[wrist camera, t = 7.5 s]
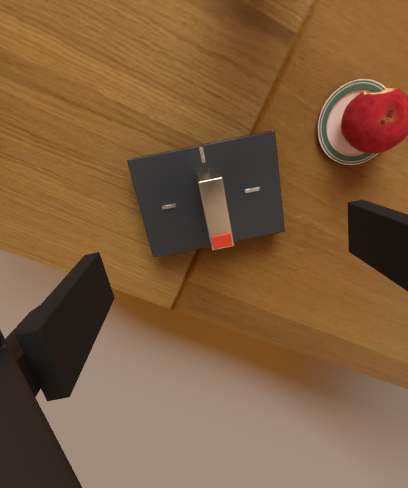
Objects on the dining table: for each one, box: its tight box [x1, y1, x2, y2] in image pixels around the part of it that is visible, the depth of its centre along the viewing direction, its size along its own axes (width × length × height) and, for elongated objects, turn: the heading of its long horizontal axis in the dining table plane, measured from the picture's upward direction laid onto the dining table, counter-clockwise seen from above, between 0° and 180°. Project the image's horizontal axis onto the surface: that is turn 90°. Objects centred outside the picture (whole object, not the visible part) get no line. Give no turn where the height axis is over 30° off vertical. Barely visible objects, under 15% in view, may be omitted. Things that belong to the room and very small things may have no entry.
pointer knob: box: [196, 168, 234, 250], centre depth 25 cm, size 6×2×7 cm, turn 12°
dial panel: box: [127, 131, 285, 257], centre depth 30 cm, size 14×10×3 cm
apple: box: [318, 79, 408, 165], centre depth 27 cm, size 8×8×6 cm
